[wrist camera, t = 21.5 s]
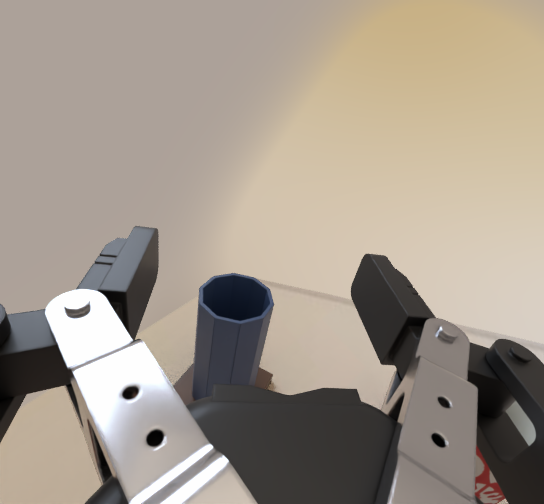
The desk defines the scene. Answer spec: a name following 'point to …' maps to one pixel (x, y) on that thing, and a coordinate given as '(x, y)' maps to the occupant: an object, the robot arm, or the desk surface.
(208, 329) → the tumbler
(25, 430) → the desk surface
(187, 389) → the coaster
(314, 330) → the desk surface
